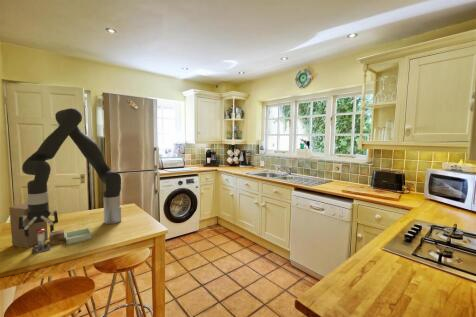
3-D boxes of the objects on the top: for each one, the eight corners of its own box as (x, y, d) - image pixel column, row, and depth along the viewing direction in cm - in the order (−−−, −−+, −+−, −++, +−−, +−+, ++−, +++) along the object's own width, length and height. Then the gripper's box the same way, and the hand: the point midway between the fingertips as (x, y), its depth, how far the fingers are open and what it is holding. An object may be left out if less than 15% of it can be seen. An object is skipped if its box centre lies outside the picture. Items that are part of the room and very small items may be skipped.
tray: (89, 232, 130) (88, 227, 129) (91, 239, 122) (91, 233, 122) (65, 237, 123) (64, 232, 122) (66, 245, 115) (66, 239, 115)
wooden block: (27, 248, 111) (24, 209, 108) (11, 245, 113) (8, 207, 110) (48, 239, 120) (46, 203, 118) (33, 236, 122) (30, 201, 120)
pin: (46, 246, 113) (45, 227, 112) (46, 249, 110) (45, 230, 109) (37, 248, 111) (36, 229, 110) (37, 251, 108) (35, 231, 107)
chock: (64, 238, 122) (63, 229, 122) (64, 241, 119) (64, 232, 118) (49, 241, 118) (49, 232, 118) (49, 245, 115) (49, 235, 114)
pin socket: (50, 244, 115) (49, 243, 115) (50, 249, 110) (50, 248, 110) (33, 248, 111) (33, 247, 111) (33, 253, 106) (33, 252, 106)
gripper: (57, 197, 115) (58, 228, 117) (18, 202, 106) (20, 234, 108) (57, 201, 109) (58, 233, 111) (16, 206, 100) (18, 240, 102)
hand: (39, 234), depth 109 cm, fingers open, 8 cm apart
